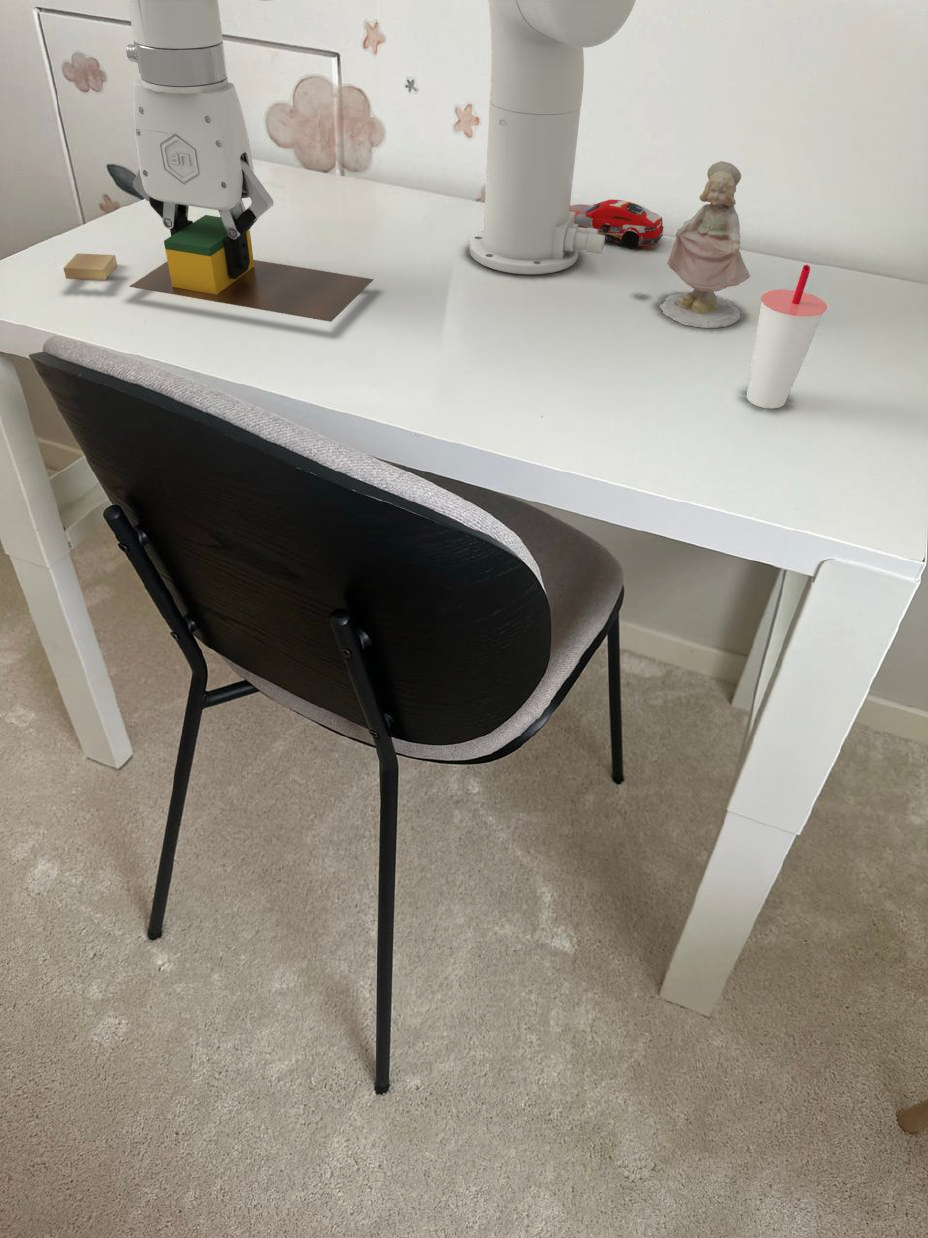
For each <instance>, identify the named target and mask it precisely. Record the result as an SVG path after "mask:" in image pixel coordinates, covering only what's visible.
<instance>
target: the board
mask: <svg viewBox="0 0 928 1238" xmlns="http://www.w3.org/2000/svg"><path fill="white" fill-rule="evenodd" d="M253 260H254V267H253V268H251V269H250V270H249V271H247V272H246V273H245V274H244V275H242V276H241V277H240V278H238V279H237V280H236V281H234V282H233V283H232V284H230V285H229V286H228V287H226V288H225V289H224V290H222V291H221V292H220V293H218V294H217V295H215V294H209V293H203V292H198V291H192V290H186V289H180V288H175V287H172V282H171V276H170V271H169V266H168V261H165V262H163V263H162V264H160V265H159V266H158V267H156V268H155V269H153V270H152V271H150V272H148V273H147V274H146V275H144V276H143V277H141V278H140V279H138V280H137V281H135V282H133V283H132V284H131V285H129V288H133V289H139V290H144V291H145V290H147V291H152V292H158V293H162V294H169V295H175V296H181V297H186V298H191V299H199V300H203V301H208V302H215V303H221V304H227V305H232V306H238V307H244V308H249V309H254V310H260V311H267V312H272V313H273V312H274V313H278V314H285V315H290V316H297V317H301V318H307V319H313V320H319V321H324V322H332V321H333V320H334V319H335V318H336V317H338V315H340V314H341V313H342V312H343V311H344V309H345V308H347V307H348V306H349V305H350V304H351V303H352V302H353V301H354V300H355V299H356V297H358V296H359V295H360V294H361V293H362V292H363V291H364V290H365V289H366V288H367V287H368V286H369V285H370V284H371V283H372V282H373V281H374V279H373V278H368V277H363V276H357V275H350V274H344V273H338V272H331V271H325V270H319V269H313V268H307V267H300V266H294V265H288V264H282V263H276V262H271V261H264V260H258V259H253Z"/></svg>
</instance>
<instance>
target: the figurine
mask: <svg viewBox="0 0 928 1238" xmlns="http://www.w3.org/2000/svg"><path fill="white" fill-rule="evenodd" d="M706 177H707V179H708V180H707V182H706V183H705V187H704V189H703V192H702V193H701V194H700V195H699V197H698V198H699V200H700V202H704V203H706V202H707V203H706V204H704V205H702V206H701V208H699V209H698V210H697V212H696V213H695V215H694V216H693V217H691V218H690V219H688V220H685V221H684V222H683V224H682V227H679V228H678V229H677V231H676V232H675V240H674V243H673V247H672V249H671V253H670V254H669V258H668V260H667V265H668V267H669V268H670V269H671V270H672V271H673V272H674V273H675V274H676V275H677V276H678V277H679V278H680V279H681V281H683V282H684V283H685V284H686V285H687V286H689V287H691V288H692V291H689V292H686V293H675V294H671V295H669V296H666V298H664V300H665V301H663V302H662V303H661V304H659V308H660V310H661V311H662V313H663V315H665V316H666V317H668V318H670V319H672V320H673V321H675V322H678V323H679V324H681V325H685V326H691V327H693V328H701V329H703V328H704V329H719V328H721V327H722V328H726V327H728V326H732V325H734V324H735V323H737V322H738V321H739V320H740V318H741V312H740V310H739V309H738V308H737V307H736V306H735V304H734V303H733V302H731V301H730V300H728V299H724V298H722V297H721V296H717V295H716V293H715V292H719V291H722V290H725V289H727V288H730V287H732V288H733V287H736V286H740V284H742V283H744V282H745V281H747V280H749V279H750V278H751V274H750V273H749V270H748V268H747V266H746V264H745V262H744V259H743V257H742V253H741V251H740V247H741V246H740V244H741V225H740V224H741V223H740V219H739V214H738V212H737V211H736V208H735V207H736V206H735V205H736V204H737V201H736V199H735V194H736V193H737V185H738V184H739V183H740V181H741V179H742V173H741V172H740V169H739V168H738V167H737V166H736V165H734V164H733V163H731V162H727V161H723V160H719V161H717V162H714V163H713V164H712V165H710V167H708V169H707V174H706ZM638 297H642V295H641V294H639V295H638Z"/></svg>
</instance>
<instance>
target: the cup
mask: <svg viewBox="0 0 928 1238" xmlns="http://www.w3.org/2000/svg"><path fill="white" fill-rule="evenodd" d="M810 272H811V267H810V265H809V264H803V266H802V268H801V272H800V275H799V278H798V282H797V284H796V288H795V289H783V288H782V289H771V290H768V291H765V292H764V293H762V294H761V295H760V301H761V304H760V309H759V310H760V311H759V316H758V320H757V321H758V322H757V328H756V334H755V340H754V344H753V345H754V346H753V352H752V358H751V365H750V370H749V377H748V383H747V390H746V399H747V401H748V402H749V403H750V404H753V406H757V407H759V408H764V409H779V408H781V407H783V406H784V405H786V402H787V400H788V397H789V395H790V394H791V391H792V388H793V386H794V384H795V382H796V380H797V377H798V374H799V372H800V370H801V368H802V366H803V363H804V362H805V361H804V360H805V358H806V356H807V354H808V351H809V349H810V347H811V344H812V342H813V340H814V337H815V334H816V333H817V329H818V327H819V325H820V323H821V320H822V319H823V316H824V313H826V311H827V310H828V305H827V303H826V302H825V301H824V300H823V299H821V298H820V297H818V296H816V295H814V294H811V293H809V292H806V291H805V288H806V285H807V282H808V278H809V275H810Z"/></svg>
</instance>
